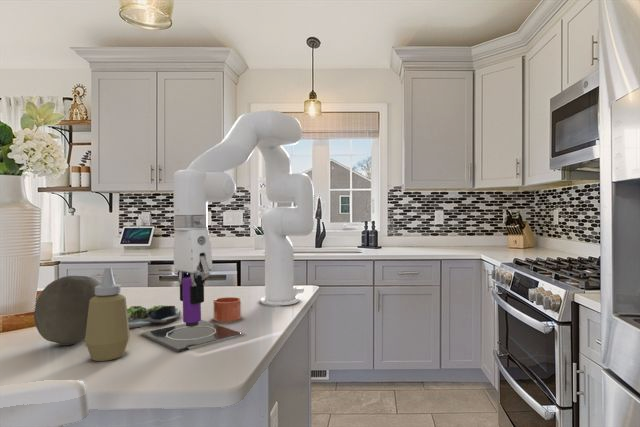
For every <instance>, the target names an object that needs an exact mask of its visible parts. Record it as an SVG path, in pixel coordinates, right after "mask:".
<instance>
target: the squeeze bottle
mask: <svg viewBox="0 0 640 427" xmlns="http://www.w3.org/2000/svg"><path fill="white" fill-rule="evenodd" d="M100 283H101V285H99V286H96V287H95V295H97V296H95V297H93V298H92V299H91V300H89V309H88V318H87V327H86V336H85V339H84V343H85V346H86V349H87V351H88V353H89V356H90V358H91V360H92V361H96V362H103V361H111V360H116V359H119V358H121V357H123V356H124V354H125V352H126V348H127V346H128V343H129V340H130V337H131V334H130V328H129V323H128V314H127V309H128V305H127V297H126V296H125V295H124V294H122V285H121V284H120V283H119V284H118V283H116V282H115V277H114V273H113V269H112V267H110V266H108V267H104V269H103V274H102V277H101V281H100Z"/></svg>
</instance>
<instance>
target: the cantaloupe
mask: <svg viewBox="0 0 640 427" xmlns="http://www.w3.org/2000/svg"><path fill="white" fill-rule="evenodd" d="M99 285H101V281H98V279H95V278H94V277H92V276H91V277H90V276H87V275H66V276H62V277H59V278H58V279H54V280H53V281H51V282H50V283H48V284H47V285H46V286H45V287H44V289H43V290H42V291H41V293H40V294H39V296H38V297H37V299H36V301H35V305H34V306H35V307H34V313H33V319H34V320H33V321H34V325H35V327H36V329H37V331H38V333H39V335H40V336H41V337H42V338H43V339H44V340H46V341H49V342H52V343H56V344H59V345H61V346H71V345H75V344H77V343H80V342H82V341H85V336H86V327H87V318H88V309H89V300H91V299H92V298H93V297H95V296H97V295H95V287H96V286H99Z"/></svg>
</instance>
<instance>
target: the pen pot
mask: <svg viewBox="0 0 640 427" xmlns="http://www.w3.org/2000/svg"><path fill="white" fill-rule="evenodd" d="M212 301H213V302H212V303H213V304H212V305H213V306H212V307H213V308H212V312H213V313H212V315H213V316H212V318H213V321H215V322H220V323H229V322H235V321H238V320H241V319H242V299H241V297H234V296H230V297H229V296H228V297H225V296H224V297H219V298H215V299H213V300H212Z"/></svg>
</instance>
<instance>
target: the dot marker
mask: <svg viewBox="0 0 640 427" xmlns="http://www.w3.org/2000/svg"><path fill="white" fill-rule="evenodd" d="M196 278H197V276H196ZM182 283H183V301H182V322H183V324H186V326H187V327H193V326H197V325H198V322H199V321H201V320H202V303H197V304H191V303H190V287H191V286H192V282H191V277H186V278H183V279H182Z"/></svg>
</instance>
